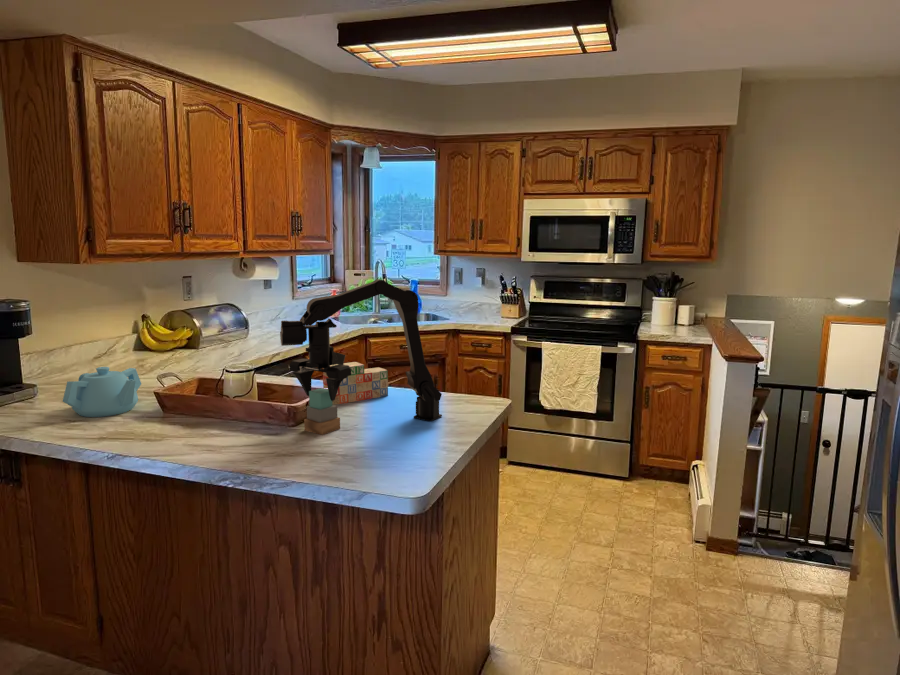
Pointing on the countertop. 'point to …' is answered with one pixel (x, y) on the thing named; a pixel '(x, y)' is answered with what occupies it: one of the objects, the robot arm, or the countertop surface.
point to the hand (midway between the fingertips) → (320, 398)
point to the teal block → (319, 398)
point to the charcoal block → (322, 413)
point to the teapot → (103, 392)
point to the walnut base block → (322, 426)
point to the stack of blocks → (360, 384)
